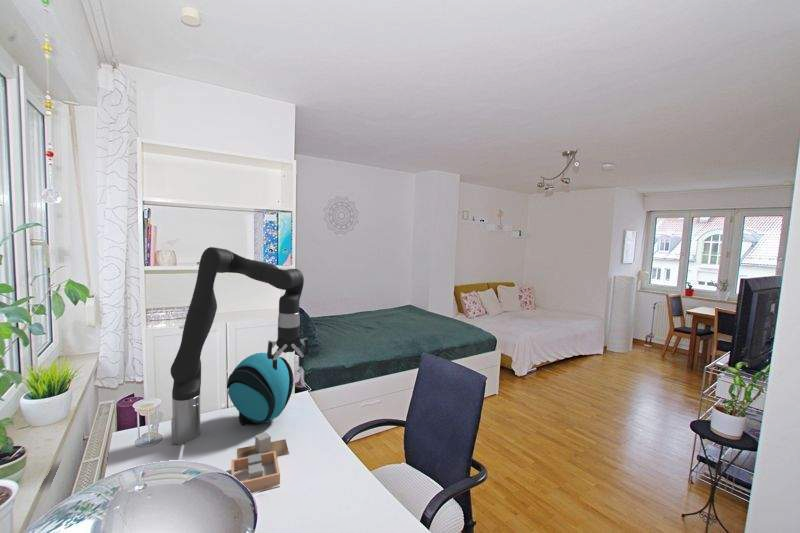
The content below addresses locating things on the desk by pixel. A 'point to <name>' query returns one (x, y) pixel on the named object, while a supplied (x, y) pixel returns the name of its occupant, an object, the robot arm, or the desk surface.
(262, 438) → the pale grey cube
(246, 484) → the bin
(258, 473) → the stone
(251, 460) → the stone
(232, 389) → the helmet
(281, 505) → the desk surface
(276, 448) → the lid board
